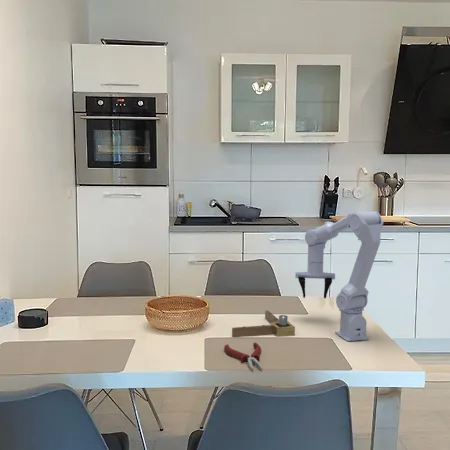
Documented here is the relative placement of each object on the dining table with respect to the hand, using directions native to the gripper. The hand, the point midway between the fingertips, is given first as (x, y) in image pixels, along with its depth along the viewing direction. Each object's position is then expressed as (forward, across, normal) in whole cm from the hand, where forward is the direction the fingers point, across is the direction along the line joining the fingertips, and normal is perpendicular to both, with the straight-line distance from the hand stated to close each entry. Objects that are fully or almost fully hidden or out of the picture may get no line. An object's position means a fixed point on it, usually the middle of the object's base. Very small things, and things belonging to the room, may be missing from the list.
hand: (314, 297), depth 202 cm
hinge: (+9, +21, +10) cm, 25 cm away
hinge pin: (+9, +12, +15) cm, 21 cm away
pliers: (+10, +24, +41) cm, 48 cm away
